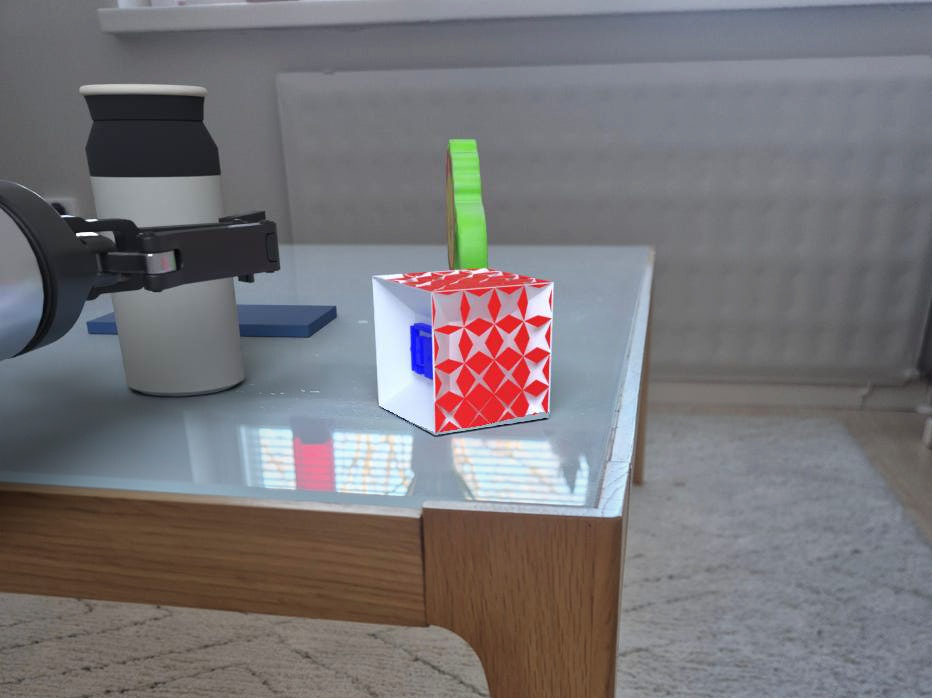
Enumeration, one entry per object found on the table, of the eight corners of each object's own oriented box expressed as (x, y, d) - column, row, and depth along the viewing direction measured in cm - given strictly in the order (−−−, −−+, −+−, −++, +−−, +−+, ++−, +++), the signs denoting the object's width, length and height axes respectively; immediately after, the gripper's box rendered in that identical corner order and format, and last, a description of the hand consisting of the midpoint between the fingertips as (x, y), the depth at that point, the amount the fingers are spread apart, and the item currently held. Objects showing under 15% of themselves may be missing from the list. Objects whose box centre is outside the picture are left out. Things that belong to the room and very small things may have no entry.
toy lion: (509, 364, 72) (513, 139, 65) (438, 365, 71) (434, 138, 64) (488, 328, 86) (489, 139, 79) (429, 329, 85) (424, 139, 78)
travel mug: (231, 398, 62) (191, 83, 54) (111, 398, 62) (52, 83, 54) (255, 372, 69) (224, 89, 61) (147, 372, 69) (101, 90, 61)
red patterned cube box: (549, 418, 58) (553, 281, 54) (435, 436, 54) (431, 291, 50) (484, 392, 64) (484, 267, 60) (378, 406, 60) (371, 275, 57)
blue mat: (88, 333, 83) (85, 321, 83) (138, 313, 93) (136, 303, 93) (309, 337, 82) (308, 325, 81) (337, 316, 91) (336, 305, 91)
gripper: (-265, 357, 44) (-14, 292, 63) (253, 367, 42) (353, 297, 61) (-329, 179, 41) (-44, 167, 59) (232, 181, 39) (345, 168, 57)
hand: (158, 233), depth 60 cm, fingers open, 13 cm apart
